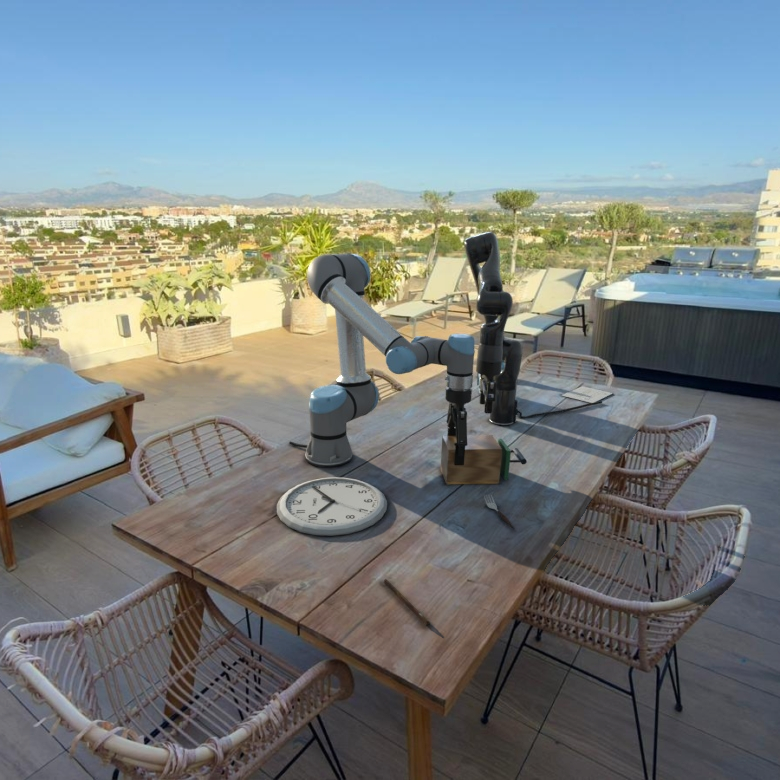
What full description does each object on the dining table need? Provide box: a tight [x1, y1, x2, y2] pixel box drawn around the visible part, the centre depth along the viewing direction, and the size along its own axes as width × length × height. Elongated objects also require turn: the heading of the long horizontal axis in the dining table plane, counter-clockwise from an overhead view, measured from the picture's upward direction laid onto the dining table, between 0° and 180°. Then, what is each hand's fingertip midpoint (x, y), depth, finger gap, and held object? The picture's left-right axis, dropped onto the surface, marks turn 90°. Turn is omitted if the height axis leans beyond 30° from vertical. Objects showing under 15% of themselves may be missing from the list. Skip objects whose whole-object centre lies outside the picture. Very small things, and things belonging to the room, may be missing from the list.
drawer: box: [497, 438, 528, 480], centre depth 160 cm, size 20×9×9 cm, turn 94°
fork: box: [483, 493, 516, 530], centre depth 139 cm, size 3×16×2 cm, turn 15°
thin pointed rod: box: [383, 578, 429, 627], centre depth 106 cm, size 15×1×1 cm, turn 34°
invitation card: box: [560, 385, 613, 404], centre depth 242 cm, size 21×1×15 cm
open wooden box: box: [440, 434, 502, 485], centre depth 160 cm, size 16×11×11 cm
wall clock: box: [276, 476, 388, 537], centre depth 142 cm, size 30×2×30 cm
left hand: (454, 456), depth 159 cm, fingers open, 12 cm apart
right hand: (485, 408), depth 163 cm, fingers open, 8 cm apart
